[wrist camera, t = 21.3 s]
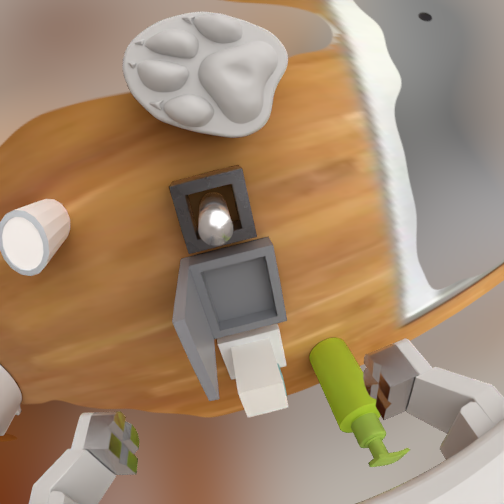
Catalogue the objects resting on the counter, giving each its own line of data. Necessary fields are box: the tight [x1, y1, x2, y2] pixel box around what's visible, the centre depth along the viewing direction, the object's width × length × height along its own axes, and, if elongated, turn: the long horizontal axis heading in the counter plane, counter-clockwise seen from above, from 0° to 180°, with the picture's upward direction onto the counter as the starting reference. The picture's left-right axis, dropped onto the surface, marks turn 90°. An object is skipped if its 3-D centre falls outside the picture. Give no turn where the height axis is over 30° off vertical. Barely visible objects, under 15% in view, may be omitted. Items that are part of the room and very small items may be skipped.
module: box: [231, 338, 288, 417], centre depth 35 cm, size 5×5×8 cm
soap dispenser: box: [309, 338, 410, 467], centre depth 33 cm, size 6×7×20 cm
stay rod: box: [198, 192, 233, 246], centre depth 28 cm, size 3×3×8 cm
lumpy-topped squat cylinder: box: [123, 12, 288, 138], centre depth 22 cm, size 10×13×9 cm
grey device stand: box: [172, 237, 287, 401], centre depth 30 cm, size 10×10×12 cm
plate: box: [217, 324, 287, 380], centre depth 39 cm, size 8×7×1 cm
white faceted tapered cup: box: [0, 199, 70, 276], centre depth 26 cm, size 7×7×7 cm
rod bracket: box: [169, 165, 257, 254], centre depth 30 cm, size 7×7×3 cm
